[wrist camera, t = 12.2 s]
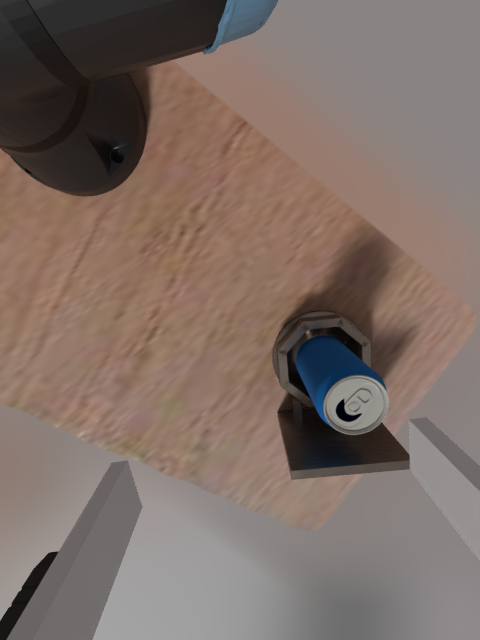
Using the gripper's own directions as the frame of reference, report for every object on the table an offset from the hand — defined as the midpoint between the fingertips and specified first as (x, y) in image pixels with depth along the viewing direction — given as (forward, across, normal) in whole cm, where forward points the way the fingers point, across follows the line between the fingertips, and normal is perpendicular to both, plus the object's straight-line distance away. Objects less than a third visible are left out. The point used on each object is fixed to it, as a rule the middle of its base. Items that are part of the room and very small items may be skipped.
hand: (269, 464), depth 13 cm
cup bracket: (+23, +8, -7) cm, 26 cm away
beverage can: (+23, +8, -5) cm, 25 cm away
